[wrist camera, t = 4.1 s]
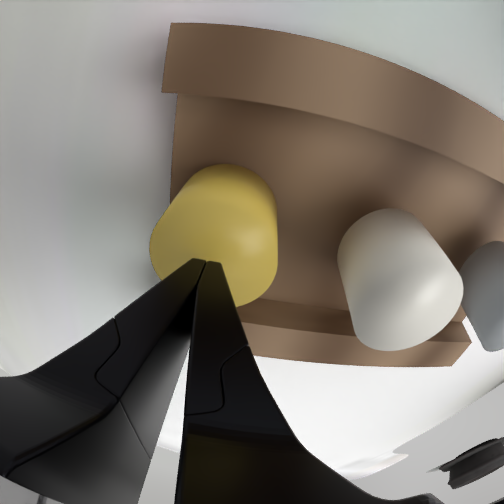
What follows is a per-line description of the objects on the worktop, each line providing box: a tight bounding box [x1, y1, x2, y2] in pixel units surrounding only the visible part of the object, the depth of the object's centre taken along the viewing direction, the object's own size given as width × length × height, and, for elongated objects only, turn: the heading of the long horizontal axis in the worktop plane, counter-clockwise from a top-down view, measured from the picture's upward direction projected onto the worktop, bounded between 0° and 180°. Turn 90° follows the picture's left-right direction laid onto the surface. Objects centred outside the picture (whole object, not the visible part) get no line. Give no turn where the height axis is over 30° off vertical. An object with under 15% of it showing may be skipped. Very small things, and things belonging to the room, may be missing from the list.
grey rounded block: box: [459, 241, 504, 352], centre depth 10 cm, size 4×4×3 cm
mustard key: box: [149, 164, 278, 307], centre depth 10 cm, size 4×4×3 cm
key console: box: [162, 23, 504, 367], centre depth 12 cm, size 18×14×3 cm
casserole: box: [439, 437, 504, 489], centre depth 38 cm, size 25×19×8 cm
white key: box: [337, 208, 463, 351], centre depth 10 cm, size 4×4×3 cm
